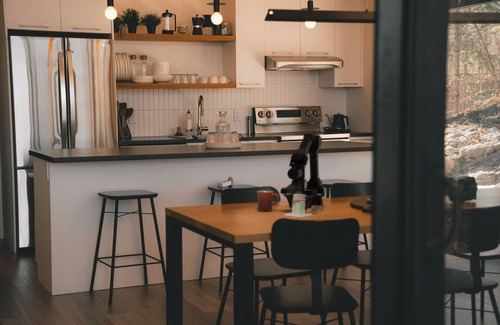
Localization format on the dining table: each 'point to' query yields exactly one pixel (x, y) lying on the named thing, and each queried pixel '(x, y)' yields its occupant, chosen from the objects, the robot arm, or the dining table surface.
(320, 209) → the walnut block
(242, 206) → the dining table surface
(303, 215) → the trivet
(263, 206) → the mug
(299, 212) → the sage block
